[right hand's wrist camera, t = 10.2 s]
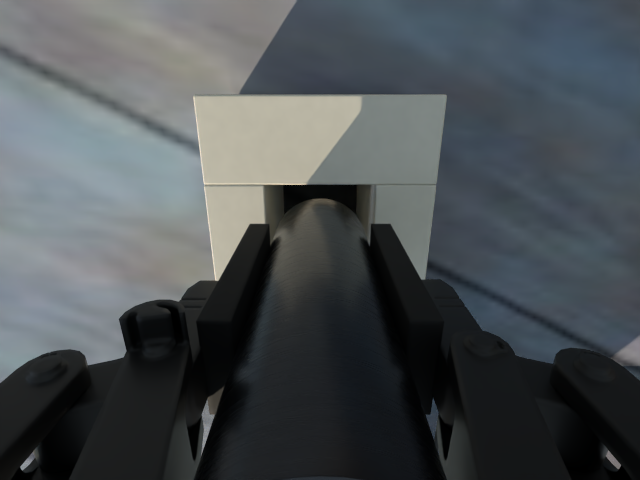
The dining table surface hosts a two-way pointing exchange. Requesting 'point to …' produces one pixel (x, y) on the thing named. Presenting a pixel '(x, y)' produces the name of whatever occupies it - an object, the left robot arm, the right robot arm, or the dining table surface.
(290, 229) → the peg
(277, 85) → the dining table surface
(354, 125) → the peg block
